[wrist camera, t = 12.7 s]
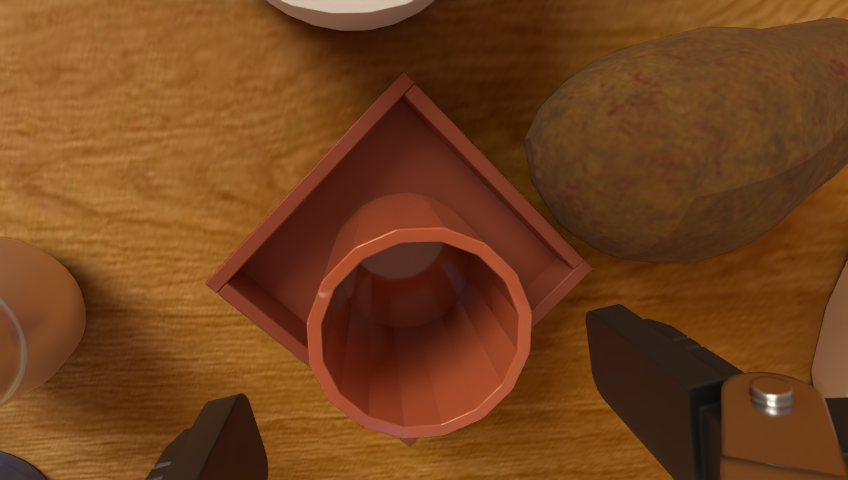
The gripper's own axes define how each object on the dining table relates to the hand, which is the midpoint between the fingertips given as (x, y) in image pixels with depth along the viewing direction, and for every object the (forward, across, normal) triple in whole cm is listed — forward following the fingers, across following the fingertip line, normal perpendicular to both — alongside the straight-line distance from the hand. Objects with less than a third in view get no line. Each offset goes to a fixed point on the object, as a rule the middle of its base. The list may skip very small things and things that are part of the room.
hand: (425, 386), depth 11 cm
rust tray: (+11, 0, 0) cm, 11 cm away
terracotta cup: (+11, 0, 0) cm, 11 cm away
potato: (+11, -12, -3) cm, 16 cm away
